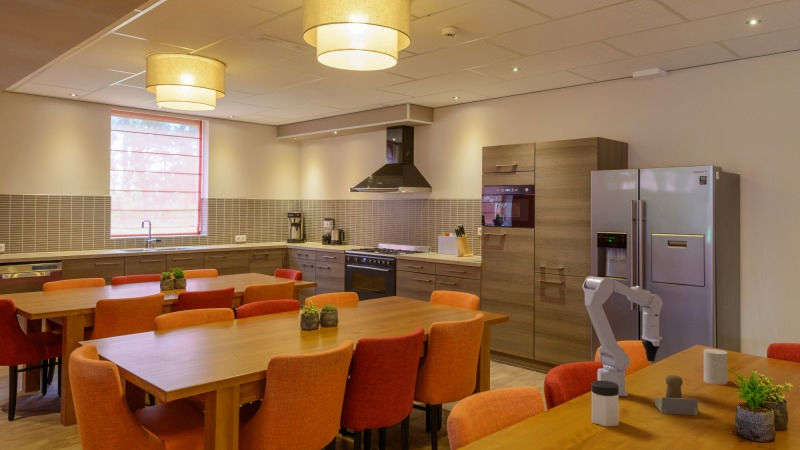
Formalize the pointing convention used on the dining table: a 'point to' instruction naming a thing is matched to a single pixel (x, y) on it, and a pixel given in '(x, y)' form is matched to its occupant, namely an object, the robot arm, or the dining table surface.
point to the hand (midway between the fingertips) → (650, 360)
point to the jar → (605, 403)
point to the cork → (674, 386)
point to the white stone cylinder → (715, 366)
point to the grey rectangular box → (677, 405)
